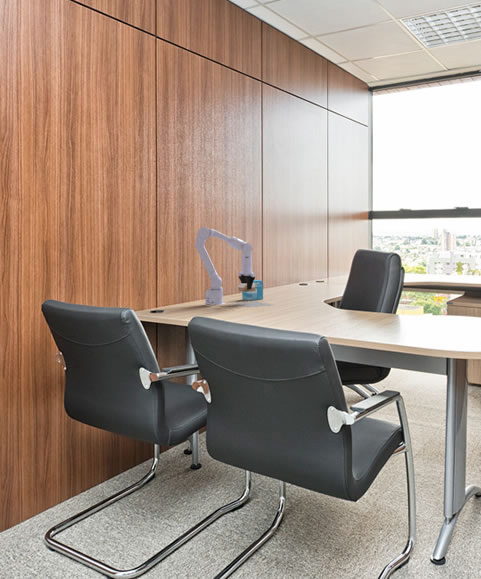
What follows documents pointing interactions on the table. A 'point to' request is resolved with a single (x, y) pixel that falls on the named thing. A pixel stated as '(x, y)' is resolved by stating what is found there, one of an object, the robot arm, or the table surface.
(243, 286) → the metal box
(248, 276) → the robot arm
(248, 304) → the desk mat
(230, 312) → the table surface
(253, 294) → the data package
